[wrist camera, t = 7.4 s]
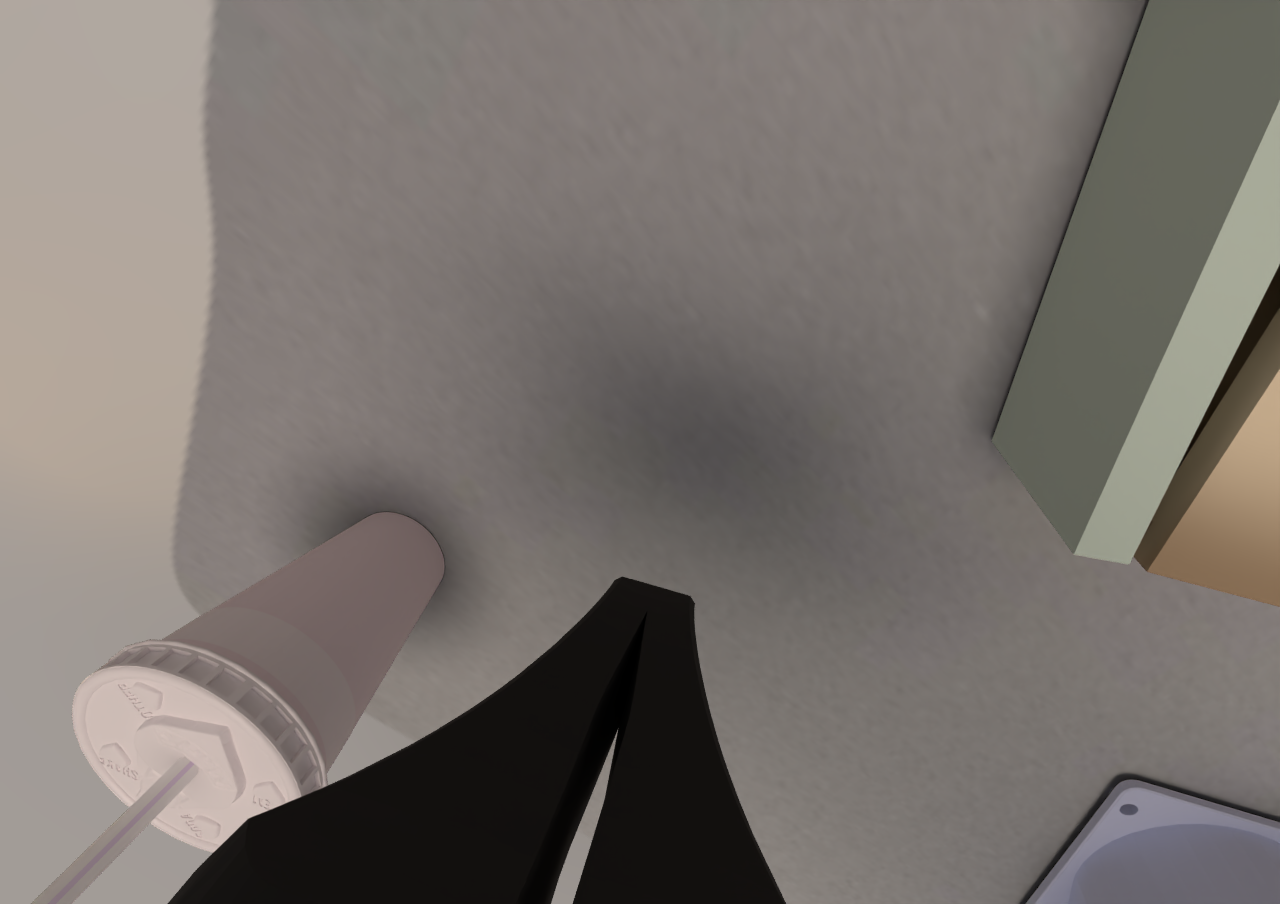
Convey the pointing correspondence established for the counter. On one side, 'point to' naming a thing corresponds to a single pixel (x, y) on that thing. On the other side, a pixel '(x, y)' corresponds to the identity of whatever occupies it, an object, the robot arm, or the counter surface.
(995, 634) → the counter surface
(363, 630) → the smoothie
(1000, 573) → the counter surface
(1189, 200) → the door
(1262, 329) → the wooden box
